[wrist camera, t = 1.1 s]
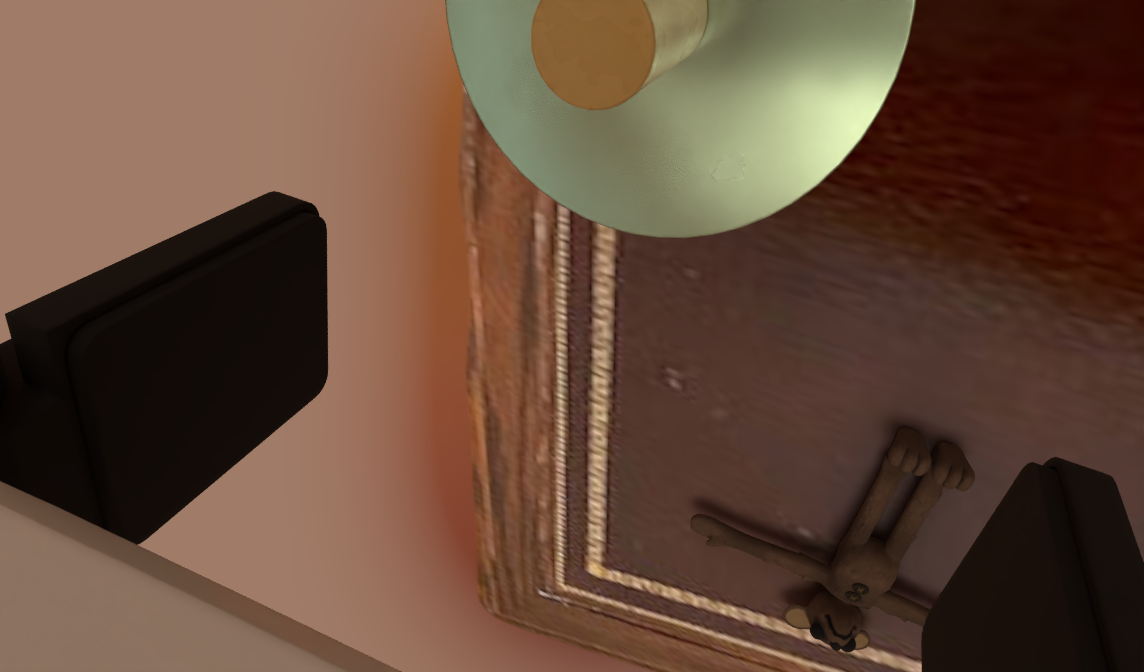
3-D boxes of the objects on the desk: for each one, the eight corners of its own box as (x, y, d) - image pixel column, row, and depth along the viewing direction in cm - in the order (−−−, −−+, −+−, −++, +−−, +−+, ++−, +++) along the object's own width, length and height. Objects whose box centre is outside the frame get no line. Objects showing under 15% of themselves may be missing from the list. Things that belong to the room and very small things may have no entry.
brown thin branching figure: (1153, 549, 32) (989, 758, 39) (1125, 492, 36) (979, 692, 43) (741, 393, 36) (656, 608, 43) (754, 356, 40) (674, 559, 47)
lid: (488, -324, 21) (336, -401, 15) (1018, -230, 18) (1065, -284, 12) (444, 158, 28) (331, 222, 23) (813, 280, 25) (785, 386, 20)
